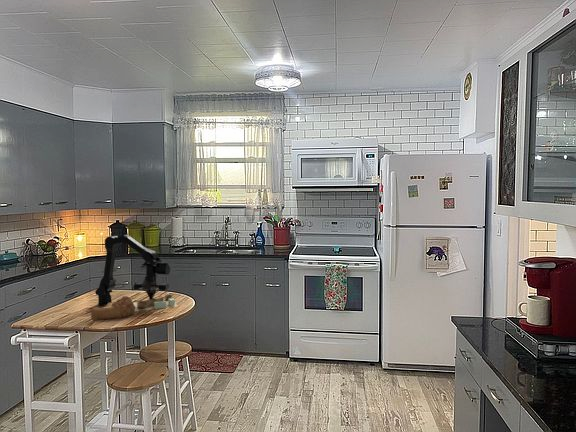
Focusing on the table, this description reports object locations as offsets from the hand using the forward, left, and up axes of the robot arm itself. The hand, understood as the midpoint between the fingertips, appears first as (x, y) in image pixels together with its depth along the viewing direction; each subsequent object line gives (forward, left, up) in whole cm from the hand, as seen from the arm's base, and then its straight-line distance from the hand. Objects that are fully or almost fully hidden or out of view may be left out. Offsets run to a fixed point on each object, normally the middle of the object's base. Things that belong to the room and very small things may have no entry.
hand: (151, 301), depth 265 cm
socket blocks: (+6, -9, -1) cm, 11 cm away
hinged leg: (-1, -4, -1) cm, 5 cm away
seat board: (+1, -2, -3) cm, 3 cm away
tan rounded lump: (-20, -18, -3) cm, 28 cm away
